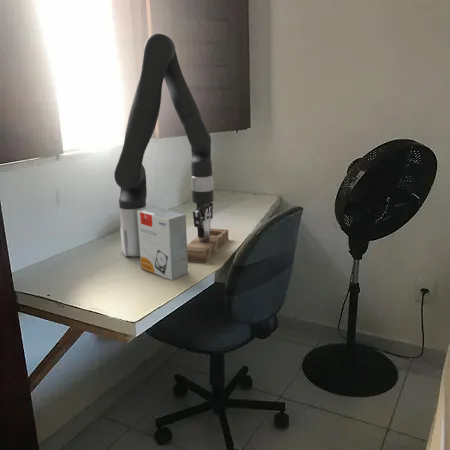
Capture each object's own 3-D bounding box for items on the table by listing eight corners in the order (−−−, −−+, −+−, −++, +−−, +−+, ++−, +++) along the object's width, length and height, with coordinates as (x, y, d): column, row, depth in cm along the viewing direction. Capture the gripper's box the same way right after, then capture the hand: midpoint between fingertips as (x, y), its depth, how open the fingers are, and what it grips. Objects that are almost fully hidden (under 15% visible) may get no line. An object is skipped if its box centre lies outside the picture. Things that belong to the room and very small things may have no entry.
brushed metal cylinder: (200, 243, 179) (200, 221, 177) (197, 239, 182) (196, 218, 180) (211, 241, 180) (211, 220, 178) (207, 238, 184) (207, 217, 181)
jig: (205, 262, 172) (205, 251, 171) (182, 260, 174) (182, 249, 173) (228, 239, 194) (228, 229, 193) (207, 238, 197) (207, 228, 196)
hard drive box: (140, 269, 168) (135, 210, 162) (157, 262, 173) (154, 205, 167) (171, 281, 157) (167, 219, 152) (189, 273, 163) (186, 213, 157)
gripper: (205, 193, 168) (207, 242, 173) (219, 184, 181) (220, 229, 186) (184, 192, 170) (186, 240, 175) (199, 183, 184) (201, 228, 188)
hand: (204, 234), depth 181 cm, fingers open, 5 cm apart
